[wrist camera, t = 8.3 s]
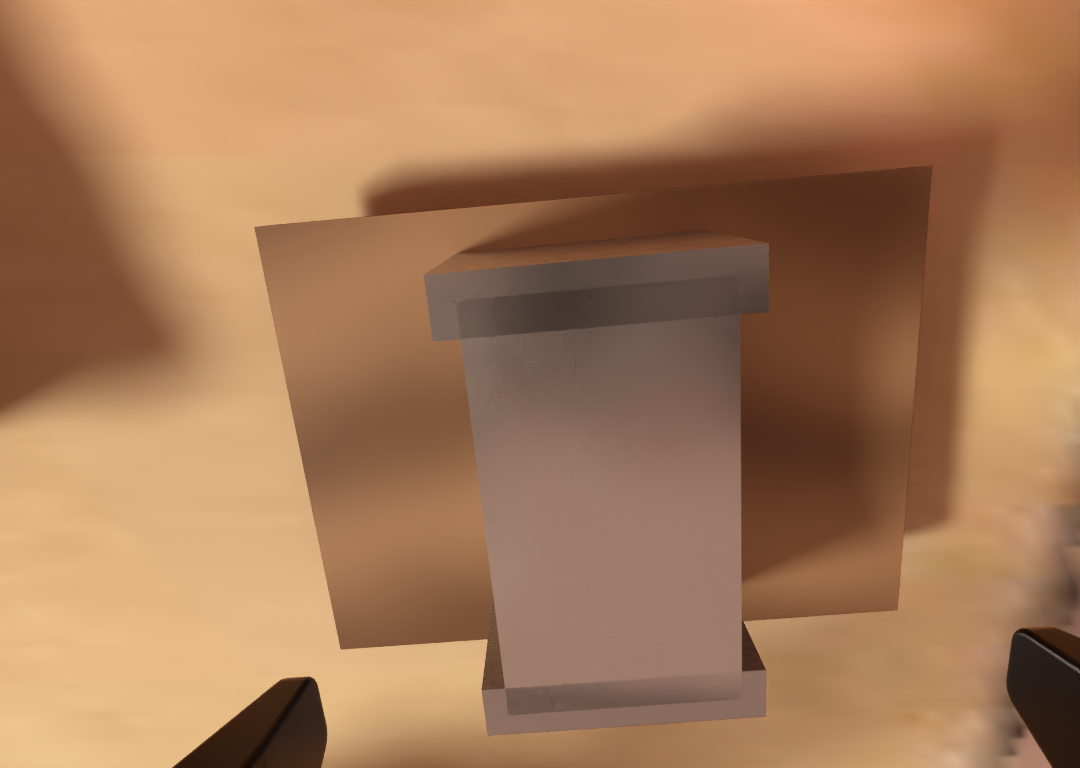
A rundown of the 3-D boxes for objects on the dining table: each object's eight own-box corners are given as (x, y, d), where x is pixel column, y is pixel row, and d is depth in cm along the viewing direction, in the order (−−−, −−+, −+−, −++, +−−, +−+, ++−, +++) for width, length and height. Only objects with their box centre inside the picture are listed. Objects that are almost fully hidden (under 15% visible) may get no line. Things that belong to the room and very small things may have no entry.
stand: (849, 553, 21) (897, 610, 18) (367, 589, 22) (340, 649, 19) (869, 170, 18) (932, 165, 15) (299, 222, 18) (254, 227, 15)
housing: (712, 593, 18) (765, 716, 14) (500, 608, 18) (488, 735, 14) (706, 230, 15) (769, 243, 11) (456, 253, 16) (423, 274, 11)
